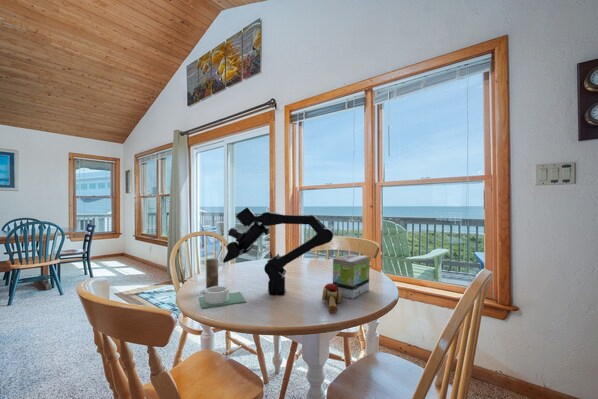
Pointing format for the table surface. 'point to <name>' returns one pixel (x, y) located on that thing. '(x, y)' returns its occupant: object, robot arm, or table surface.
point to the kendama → (332, 296)
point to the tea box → (351, 275)
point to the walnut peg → (211, 272)
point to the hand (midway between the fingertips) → (228, 259)
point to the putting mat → (220, 297)
